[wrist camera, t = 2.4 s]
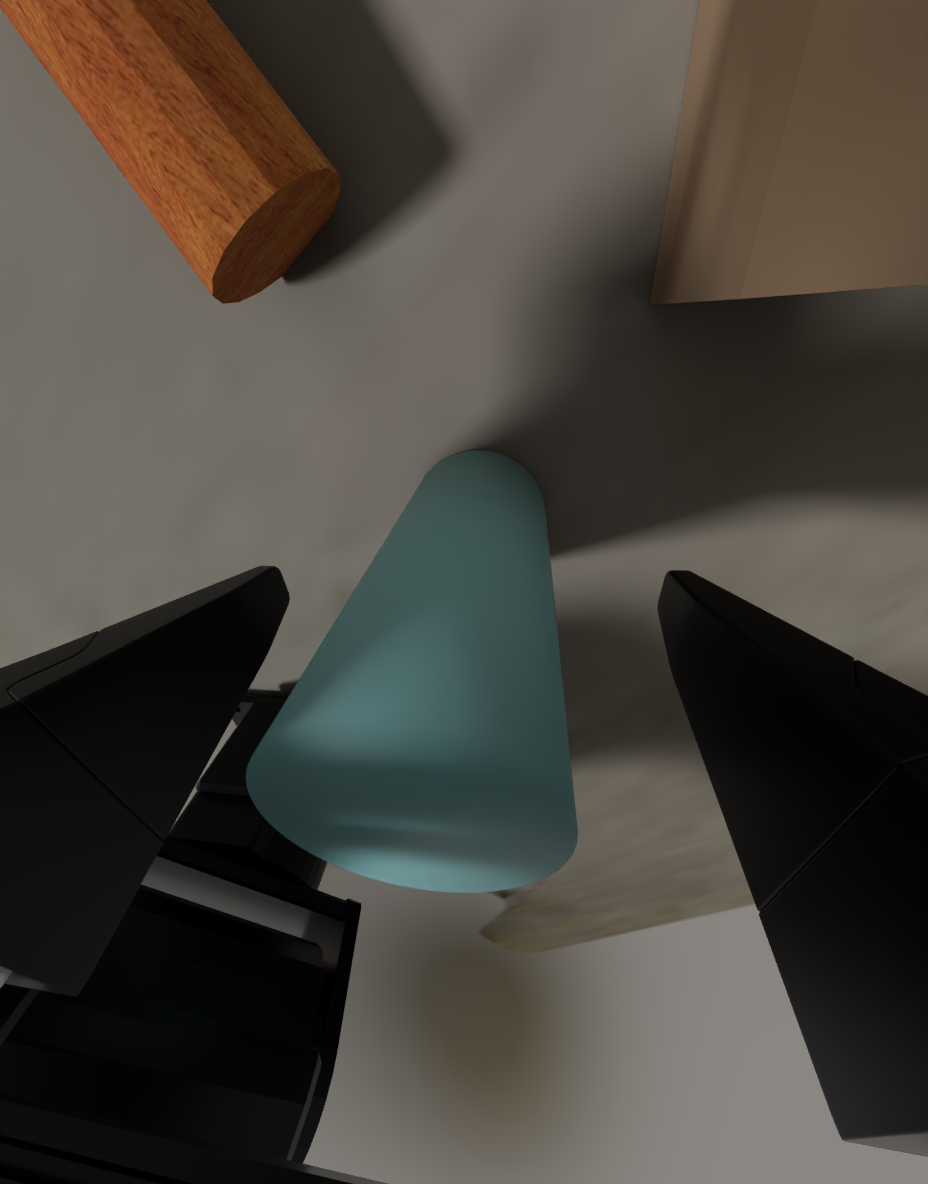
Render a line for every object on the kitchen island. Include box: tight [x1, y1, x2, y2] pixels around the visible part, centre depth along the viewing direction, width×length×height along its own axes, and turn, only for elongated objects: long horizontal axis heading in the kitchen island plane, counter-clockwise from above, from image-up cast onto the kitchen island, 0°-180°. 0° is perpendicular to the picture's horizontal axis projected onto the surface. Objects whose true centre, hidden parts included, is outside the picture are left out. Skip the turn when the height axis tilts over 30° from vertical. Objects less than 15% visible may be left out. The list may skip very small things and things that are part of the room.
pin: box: [246, 450, 578, 893], centre depth 8 cm, size 4×4×9 cm
